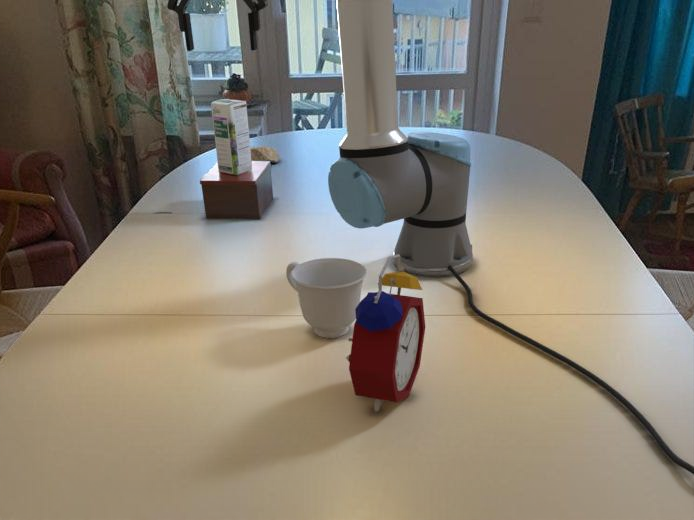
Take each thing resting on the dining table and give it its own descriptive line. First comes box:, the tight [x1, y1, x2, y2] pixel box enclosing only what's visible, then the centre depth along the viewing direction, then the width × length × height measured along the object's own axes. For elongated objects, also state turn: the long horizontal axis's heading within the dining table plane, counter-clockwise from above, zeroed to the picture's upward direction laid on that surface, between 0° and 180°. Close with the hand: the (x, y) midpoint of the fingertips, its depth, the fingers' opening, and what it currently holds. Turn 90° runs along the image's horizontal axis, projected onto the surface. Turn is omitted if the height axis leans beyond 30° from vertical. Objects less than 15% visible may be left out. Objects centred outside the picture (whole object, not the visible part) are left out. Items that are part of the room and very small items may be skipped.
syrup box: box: [210, 98, 252, 175], centre depth 163 cm, size 6×6×14 cm
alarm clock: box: [342, 254, 426, 413], centre depth 99 cm, size 15×9×20 cm, turn 158°
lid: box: [199, 161, 272, 185], centre depth 168 cm, size 16×13×1 cm
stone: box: [250, 145, 280, 164], centre depth 205 cm, size 8×10×4 cm
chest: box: [200, 164, 274, 220], centre depth 171 cm, size 16×13×8 cm
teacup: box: [285, 257, 368, 339], centre depth 119 cm, size 12×15×10 cm
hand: (222, 50), depth 153 cm, fingers open, 13 cm apart
